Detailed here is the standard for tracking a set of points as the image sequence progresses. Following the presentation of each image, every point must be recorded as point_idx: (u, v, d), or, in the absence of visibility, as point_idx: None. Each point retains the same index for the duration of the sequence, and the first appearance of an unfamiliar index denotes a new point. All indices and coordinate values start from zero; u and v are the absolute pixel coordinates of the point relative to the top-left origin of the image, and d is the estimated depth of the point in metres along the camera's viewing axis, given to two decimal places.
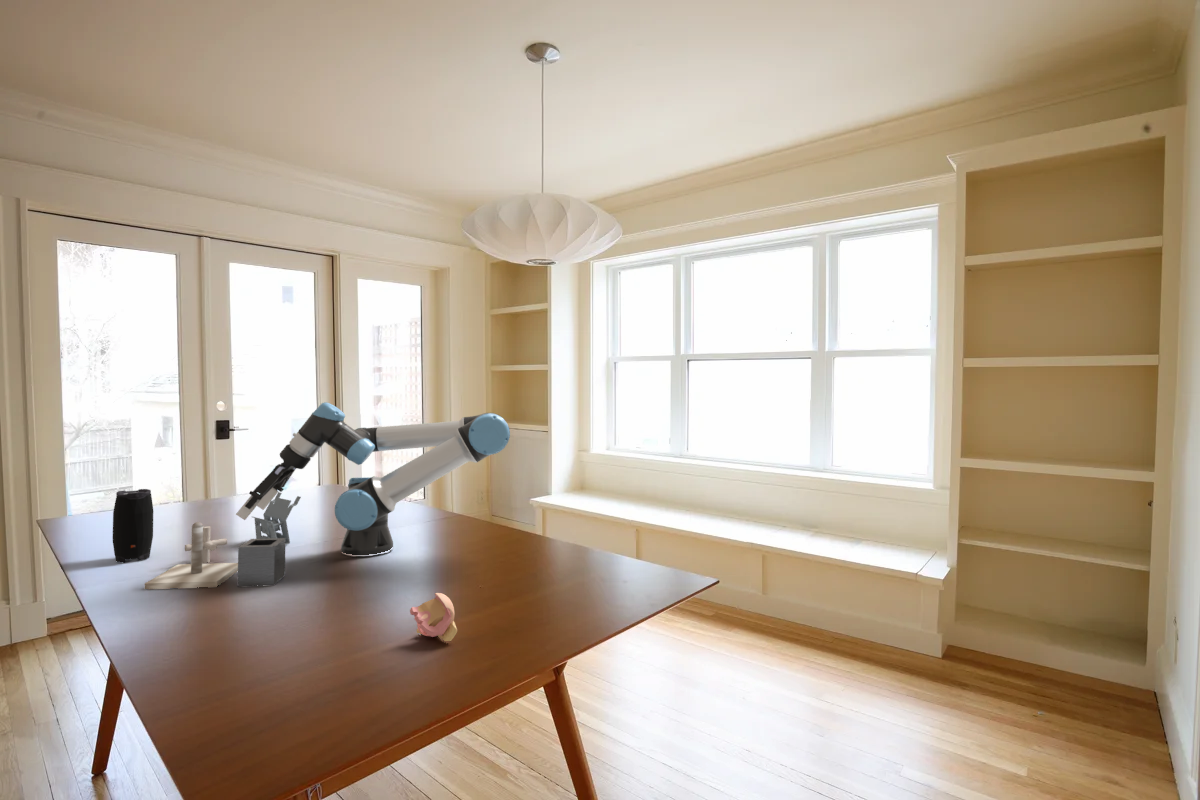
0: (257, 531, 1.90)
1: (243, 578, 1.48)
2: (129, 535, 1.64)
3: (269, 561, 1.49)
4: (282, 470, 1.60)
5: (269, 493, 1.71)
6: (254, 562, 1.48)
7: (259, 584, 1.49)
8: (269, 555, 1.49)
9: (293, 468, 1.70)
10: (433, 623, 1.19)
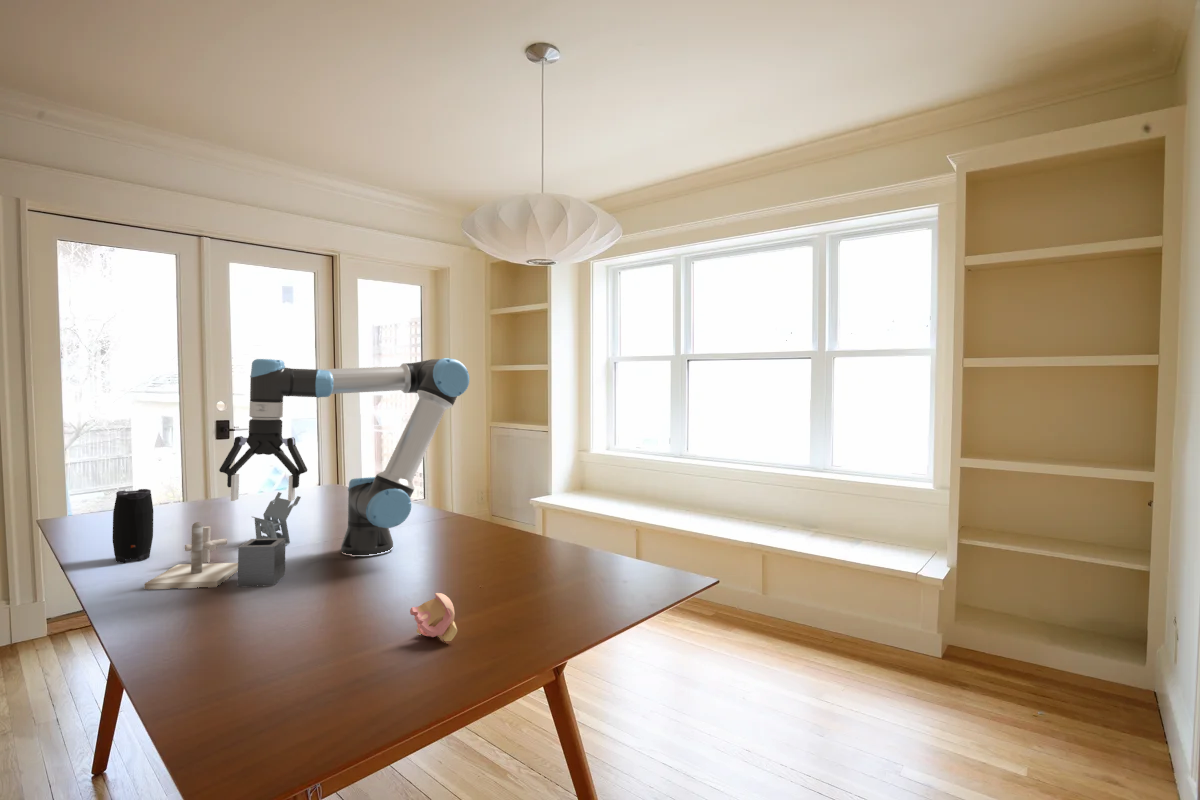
0: (257, 531, 1.90)
1: (243, 578, 1.48)
2: (129, 535, 1.64)
3: (269, 561, 1.49)
4: (294, 438, 1.55)
5: (236, 481, 1.51)
6: (254, 562, 1.48)
7: (259, 584, 1.49)
8: (269, 555, 1.49)
9: None
10: (433, 623, 1.19)
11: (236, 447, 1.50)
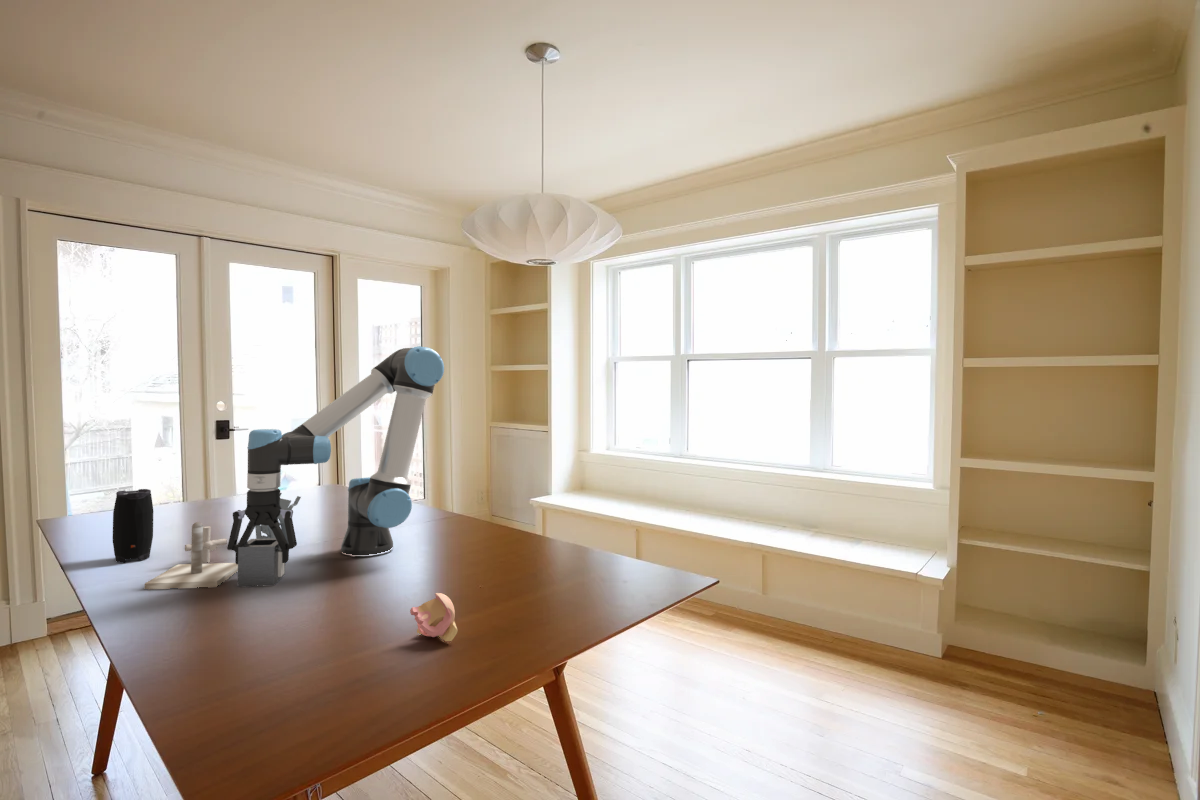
0: (257, 531, 1.90)
1: (243, 578, 1.48)
2: (129, 535, 1.64)
3: (269, 561, 1.49)
4: (292, 511, 1.55)
5: None
6: (254, 562, 1.48)
7: (259, 584, 1.49)
8: (269, 555, 1.49)
9: None
10: (433, 623, 1.19)
11: (237, 522, 1.50)
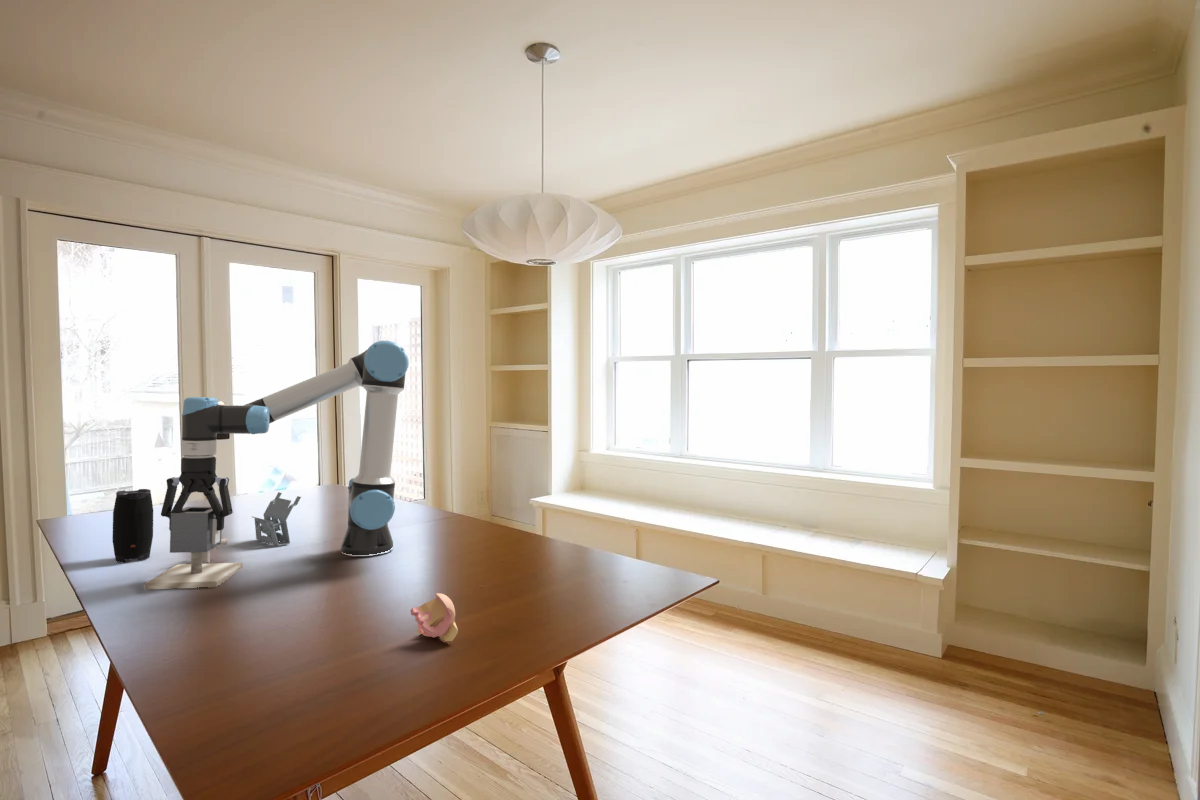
0: (257, 531, 1.90)
1: (176, 544, 1.48)
2: (129, 535, 1.64)
3: (202, 527, 1.49)
4: (228, 479, 1.55)
5: None
6: (187, 528, 1.49)
7: (192, 550, 1.49)
8: (202, 521, 1.49)
9: None
10: (434, 623, 1.19)
11: (171, 488, 1.51)
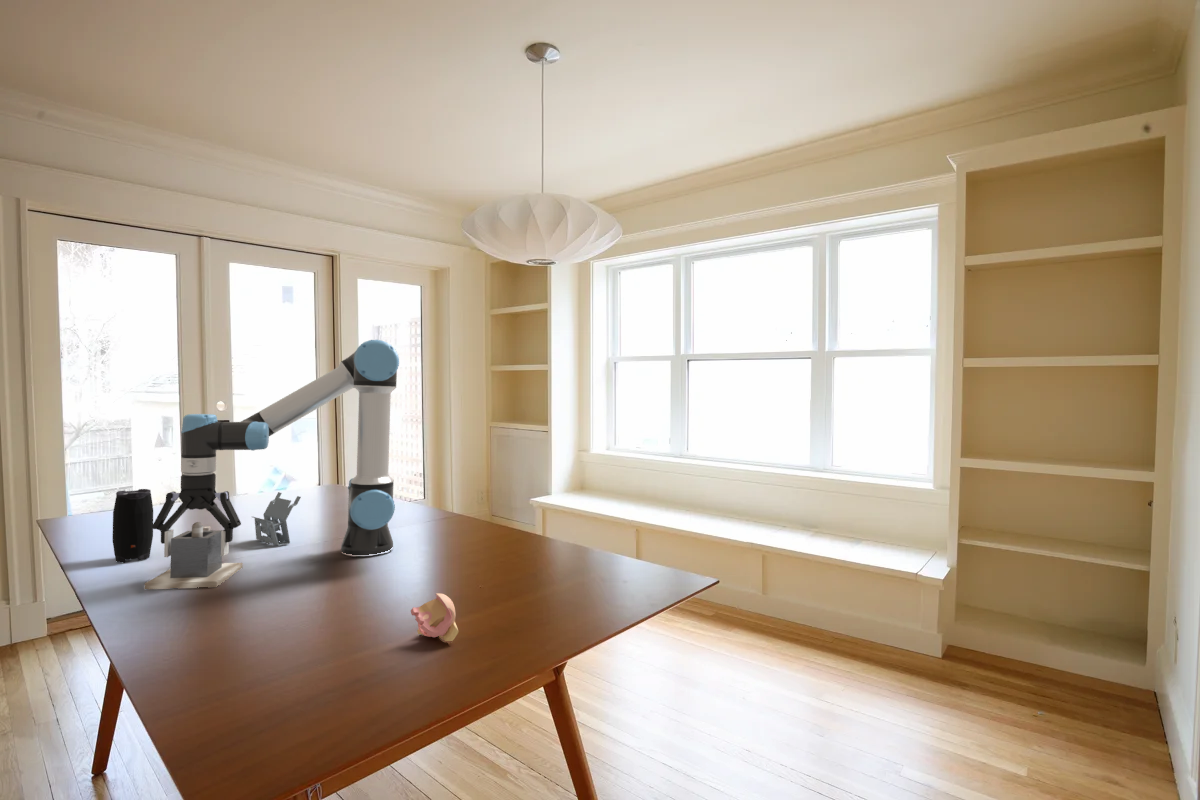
0: (257, 531, 1.90)
1: (176, 569, 1.49)
2: (129, 535, 1.64)
3: (202, 553, 1.50)
4: (228, 492, 1.55)
5: (170, 537, 1.52)
6: (187, 553, 1.49)
7: (192, 575, 1.49)
8: (202, 547, 1.50)
9: None
10: (434, 623, 1.19)
11: (168, 503, 1.51)
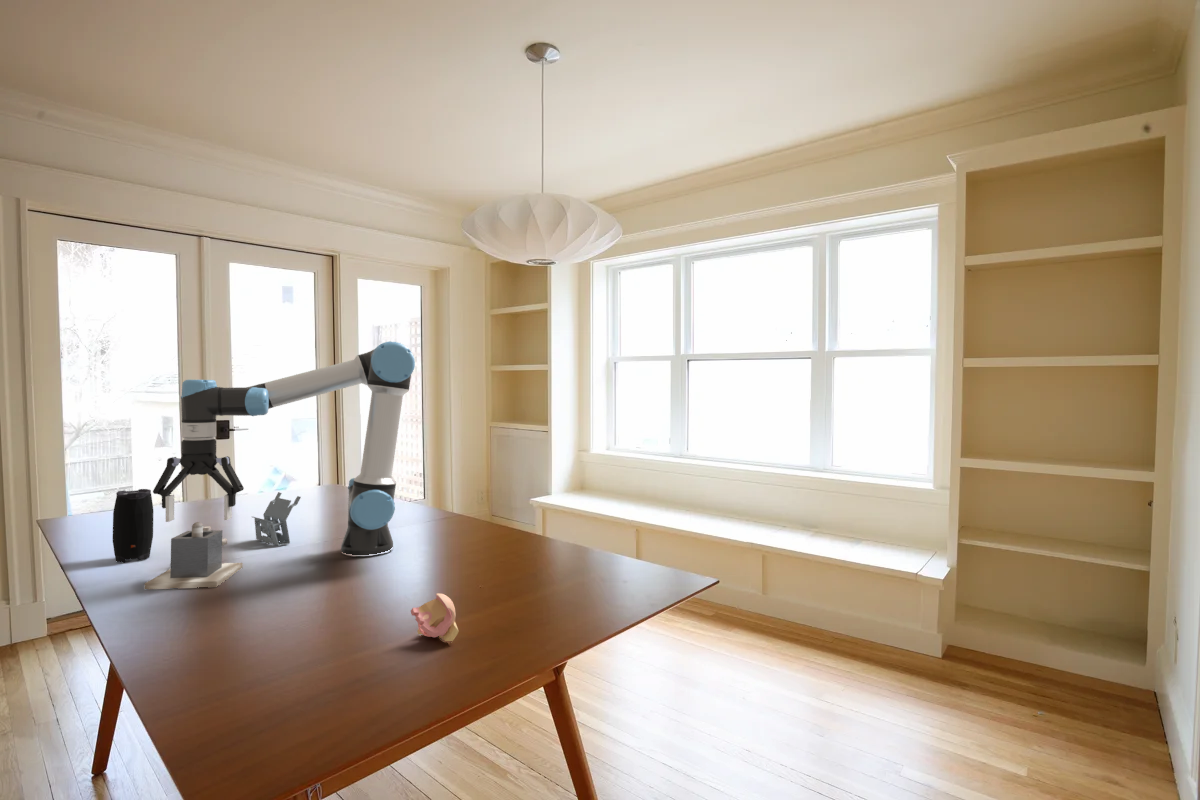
0: (257, 531, 1.90)
1: (176, 569, 1.49)
2: (129, 535, 1.64)
3: (202, 553, 1.50)
4: (229, 457, 1.55)
5: (171, 502, 1.52)
6: (187, 553, 1.49)
7: (192, 575, 1.49)
8: (202, 547, 1.50)
9: None
10: (434, 624, 1.19)
11: (169, 468, 1.51)
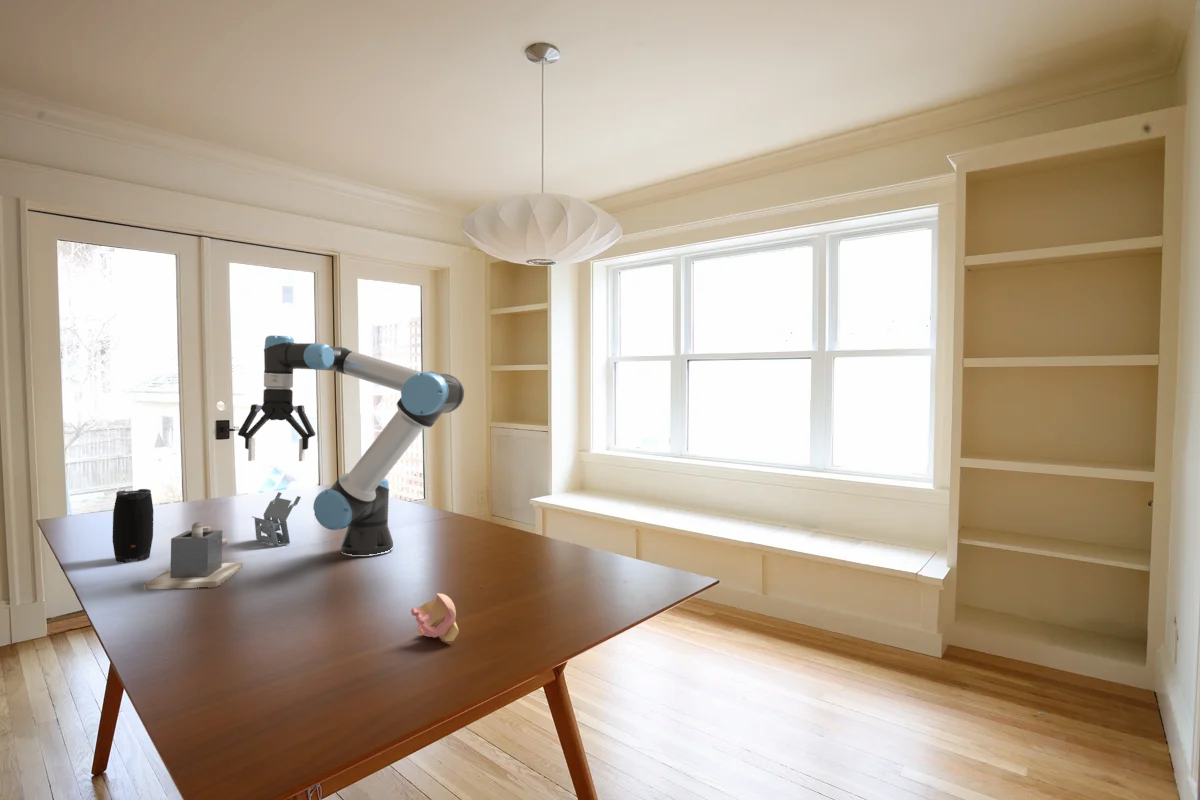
0: (257, 531, 1.90)
1: (176, 569, 1.49)
2: (129, 535, 1.64)
3: (202, 553, 1.50)
4: (303, 406, 1.75)
5: (253, 443, 1.72)
6: (187, 553, 1.49)
7: (192, 575, 1.49)
8: (202, 547, 1.50)
9: None
10: (434, 624, 1.19)
11: (252, 413, 1.71)
